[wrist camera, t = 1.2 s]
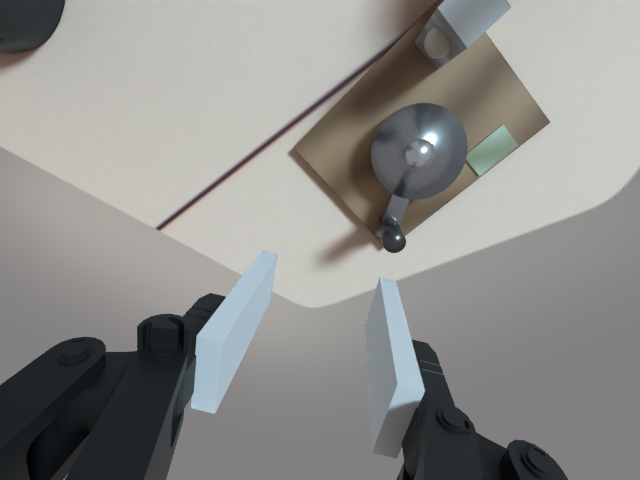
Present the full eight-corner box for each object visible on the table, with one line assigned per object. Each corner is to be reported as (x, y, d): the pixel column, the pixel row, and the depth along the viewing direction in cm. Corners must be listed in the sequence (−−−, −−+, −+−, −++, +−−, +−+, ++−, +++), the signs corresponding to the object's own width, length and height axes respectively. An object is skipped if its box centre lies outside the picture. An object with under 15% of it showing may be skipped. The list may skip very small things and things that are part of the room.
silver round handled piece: (388, 93, 28) (397, 83, 22) (474, 120, 28) (508, 118, 22) (345, 219, 32) (343, 240, 26) (420, 243, 32) (435, 270, 26)
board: (295, 147, 31) (273, 153, 23) (448, -10, 26) (494, -77, 17) (386, 246, 34) (397, 285, 25) (543, 122, 28) (624, 119, 20)
